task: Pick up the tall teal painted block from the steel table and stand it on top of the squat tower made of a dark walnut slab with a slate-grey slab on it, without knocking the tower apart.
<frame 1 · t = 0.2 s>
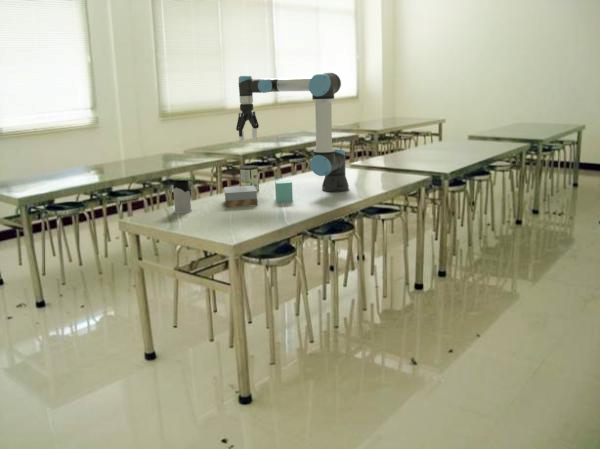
hand: (248, 141, 342), 28 cm above the table, tool pointing down, fingers open, 13 cm apart
grey slab: (240, 196, 309), point 3 cm above the table, touching walnut slab
grey black mug: (186, 210, 297), on the table
coffee can: (250, 191, 341), on the table
walnut slab: (241, 204, 309), on the table, touching grey slab
teal block: (284, 200, 313), on the table
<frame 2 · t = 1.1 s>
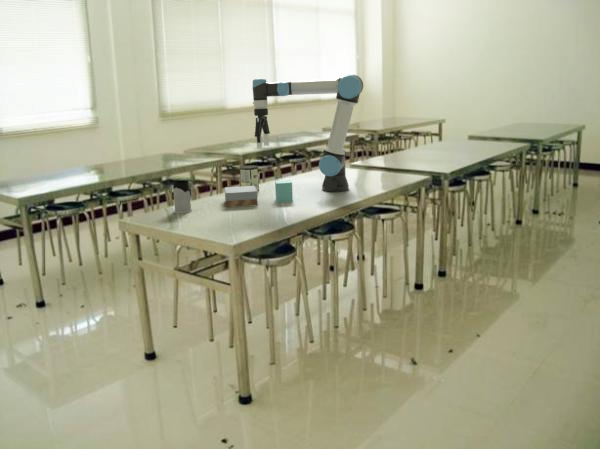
hand: (263, 147, 326), 26 cm above the table, tool pointing down, fingers open, 13 cm apart
nothing on the table moved.
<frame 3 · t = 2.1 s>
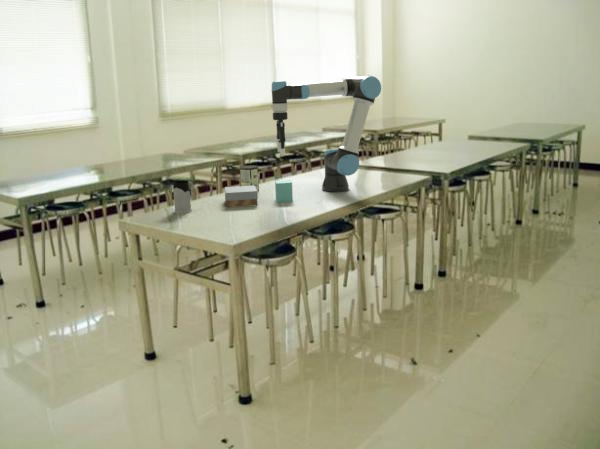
hand: (281, 153, 307), 25 cm above the table, tool pointing down, fingers open, 13 cm apart
nothing on the table moved.
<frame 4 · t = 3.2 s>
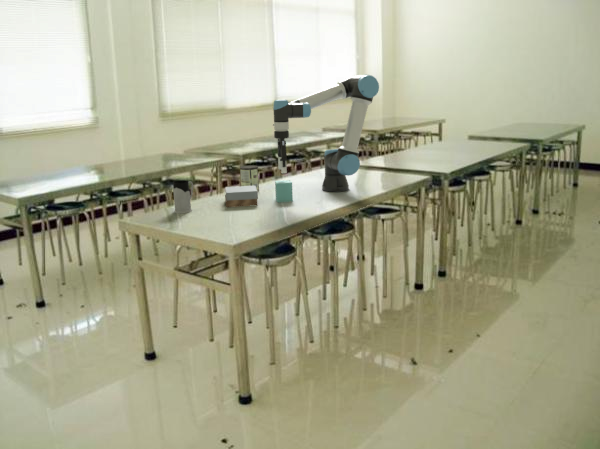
hand: (282, 171, 309), 16 cm above the table, tool pointing down, fingers open, 13 cm apart
grey slab: (241, 196, 309), point 3 cm above the table
walnut slab: (241, 204, 309), on the table
everything else where it was.
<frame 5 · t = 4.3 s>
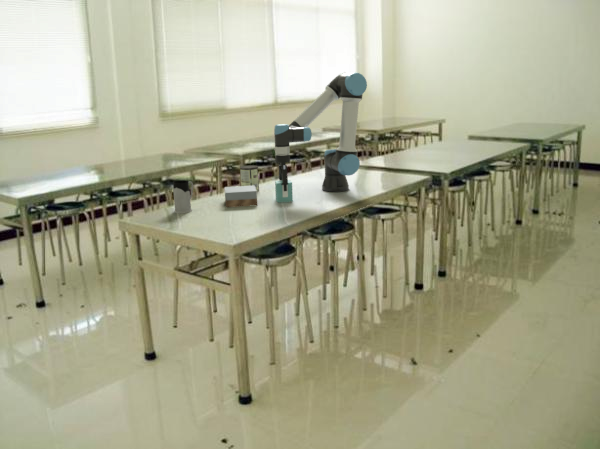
hand: (283, 194, 312), 3 cm above the table, tool pointing down, fingers open, 13 cm apart
grey slab: (240, 196, 309), point 3 cm above the table, touching walnut slab
walnut slab: (241, 204, 309), on the table, touching grey slab
everything else where it was.
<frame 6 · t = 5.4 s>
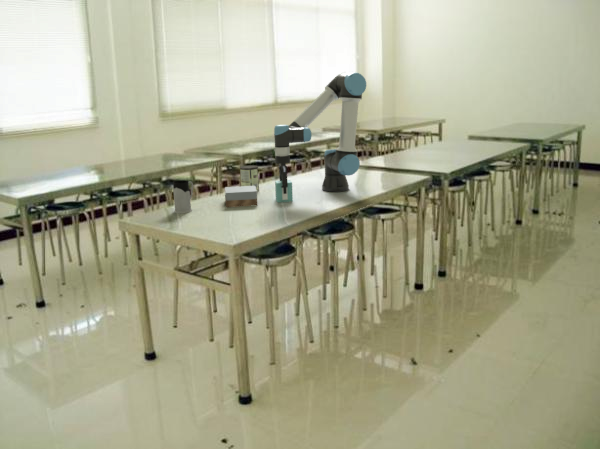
hand: (284, 197, 312), 1 cm above the table, tool pointing down, fingers closed on teal block, 8 cm apart
teal block: (284, 200, 313), on the table, touching gripper
everything else where it was.
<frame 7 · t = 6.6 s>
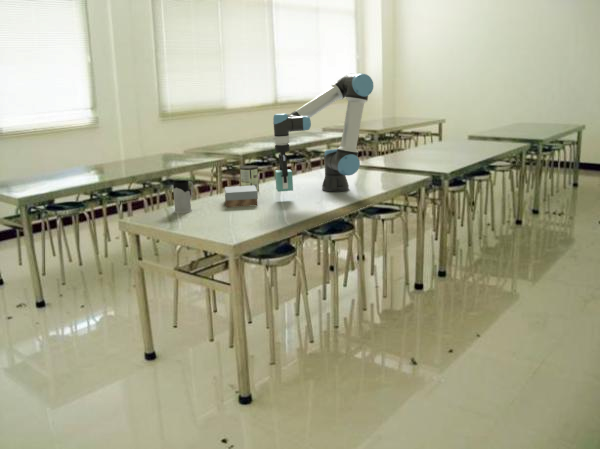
hand: (284, 187, 311), 7 cm above the table, tool pointing down, fingers closed on teal block, 8 cm apart
teal block: (284, 189, 311), point 6 cm above the table, touching gripper
everything else where it was.
when the fingers open (10 cm above the table, at t = 13.6 s): teal block drops 1 cm, resting on grey slab.
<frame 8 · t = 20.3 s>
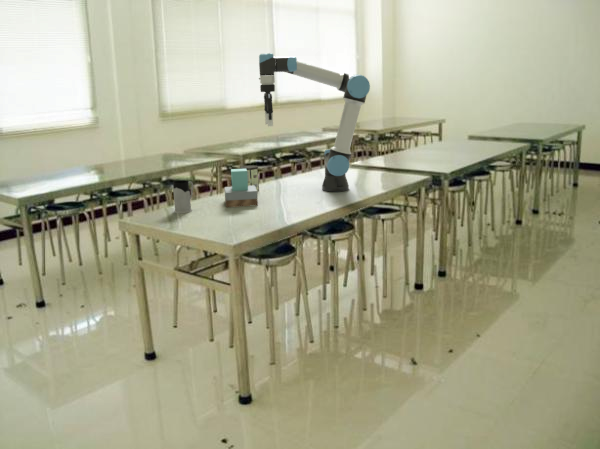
hand: (269, 125, 313), 39 cm above the table, tool pointing down, fingers open, 13 cm apart
grey slab: (240, 196, 308), point 3 cm above the table, touching teal block
walnut slab: (241, 203, 309), on the table
teal block: (239, 189, 307), point 7 cm above the table, touching grey slab
everything else where it was.
at the end: teal block inside the target area on the grey slab (0.3 cm from its centre), point 4.0 cm above the grey slab's base; teal block tilted 0°; grey slab 0.2 cm off-centre on the walnut slab, point 4.0 cm above the walnut slab's base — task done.
